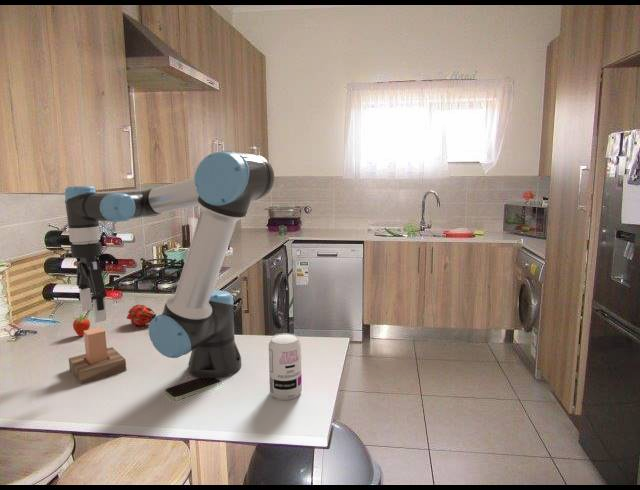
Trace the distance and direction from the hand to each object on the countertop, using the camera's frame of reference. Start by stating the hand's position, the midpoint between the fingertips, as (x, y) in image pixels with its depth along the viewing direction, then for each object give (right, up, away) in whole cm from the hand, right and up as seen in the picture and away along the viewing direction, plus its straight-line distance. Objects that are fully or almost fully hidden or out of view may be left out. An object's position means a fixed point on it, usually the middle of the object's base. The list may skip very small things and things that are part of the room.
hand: (93, 315), depth 124 cm
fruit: (-19, -12, +30) cm, 38 cm away
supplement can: (+56, -19, -11) cm, 60 cm away
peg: (0, -16, +3) cm, 17 cm away
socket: (0, -16, +3) cm, 17 cm away
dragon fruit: (-3, -10, +41) cm, 42 cm away
